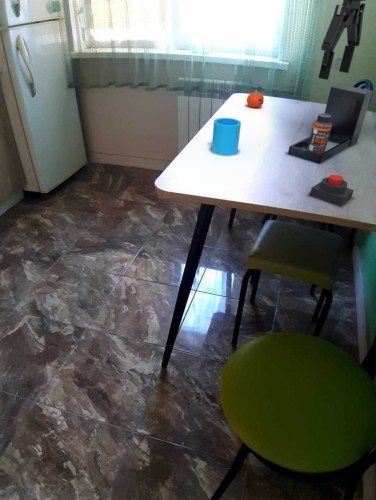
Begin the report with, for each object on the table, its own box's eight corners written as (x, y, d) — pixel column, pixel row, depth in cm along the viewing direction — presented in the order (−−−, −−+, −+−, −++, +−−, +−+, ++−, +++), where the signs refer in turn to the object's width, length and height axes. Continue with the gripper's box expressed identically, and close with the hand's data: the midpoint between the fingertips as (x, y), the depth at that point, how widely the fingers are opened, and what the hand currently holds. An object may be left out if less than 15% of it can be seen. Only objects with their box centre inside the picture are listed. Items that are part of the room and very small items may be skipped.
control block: (351, 197, 111) (356, 183, 108) (340, 206, 107) (345, 191, 104) (321, 187, 115) (325, 173, 112) (309, 195, 111) (313, 180, 108)
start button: (343, 183, 109) (345, 177, 108) (337, 187, 107) (339, 181, 106) (331, 179, 111) (332, 173, 109) (325, 183, 109) (326, 177, 107)
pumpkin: (262, 104, 175) (265, 87, 171) (262, 110, 169) (265, 92, 165) (246, 103, 176) (248, 86, 171) (245, 108, 170) (247, 91, 166)
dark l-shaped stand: (357, 142, 145) (372, 91, 134) (320, 163, 128) (334, 107, 117) (326, 134, 150) (338, 84, 139) (286, 153, 134) (297, 98, 123)
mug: (235, 156, 130) (238, 127, 124) (209, 153, 131) (211, 124, 125) (241, 143, 139) (244, 116, 133) (216, 140, 140) (218, 113, 134)
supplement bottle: (310, 155, 133) (319, 117, 125) (303, 149, 137) (311, 112, 130) (327, 155, 134) (337, 117, 126) (319, 148, 138) (329, 111, 131)
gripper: (350, -18, 97) (326, 84, 112) (389, -20, 112) (362, 71, 126) (322, -21, 101) (301, 79, 115) (362, -22, 115) (340, 67, 130)
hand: (333, 75), depth 121 cm, fingers open, 13 cm apart
